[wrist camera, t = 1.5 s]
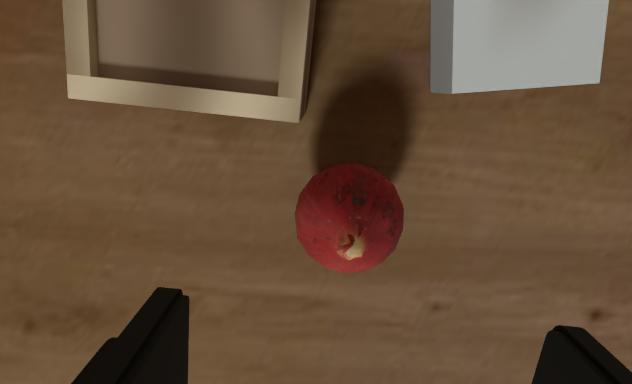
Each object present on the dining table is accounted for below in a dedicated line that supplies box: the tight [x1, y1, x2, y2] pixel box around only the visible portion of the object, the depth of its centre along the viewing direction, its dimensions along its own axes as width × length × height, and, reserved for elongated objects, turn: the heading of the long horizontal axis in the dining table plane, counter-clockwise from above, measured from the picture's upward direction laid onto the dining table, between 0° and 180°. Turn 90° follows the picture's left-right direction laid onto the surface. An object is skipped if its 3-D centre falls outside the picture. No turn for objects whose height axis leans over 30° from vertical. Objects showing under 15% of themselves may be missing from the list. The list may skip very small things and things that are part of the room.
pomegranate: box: [295, 162, 404, 273], centre depth 21 cm, size 6×6×8 cm
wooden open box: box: [62, 0, 316, 123], centre depth 19 cm, size 10×10×7 cm
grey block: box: [430, 0, 609, 94], centre depth 20 cm, size 7×7×4 cm
